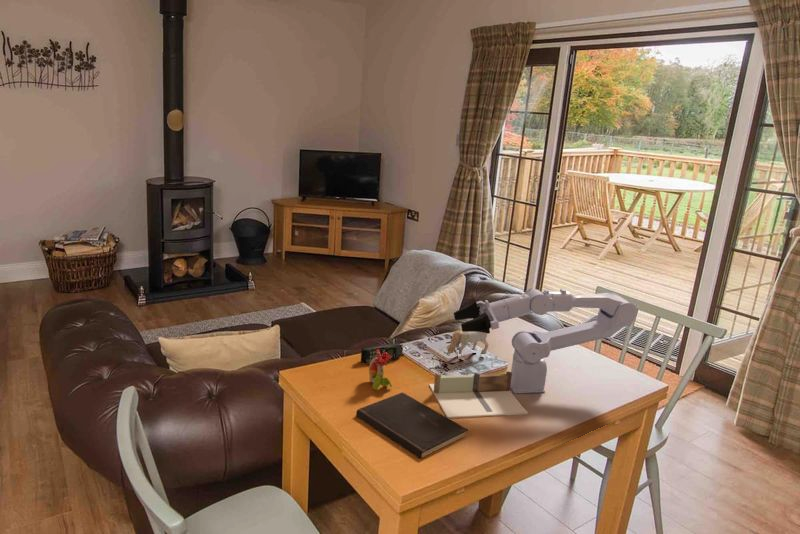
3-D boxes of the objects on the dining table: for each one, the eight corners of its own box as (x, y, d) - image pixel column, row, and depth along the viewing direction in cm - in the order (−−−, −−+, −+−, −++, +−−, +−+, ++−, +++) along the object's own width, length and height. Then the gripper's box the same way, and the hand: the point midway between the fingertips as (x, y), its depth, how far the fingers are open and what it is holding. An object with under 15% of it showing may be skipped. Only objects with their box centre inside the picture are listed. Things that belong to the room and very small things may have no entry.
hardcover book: (401, 399, 157) (402, 392, 156) (467, 437, 141) (468, 429, 140) (355, 418, 146) (356, 409, 145) (420, 461, 130) (421, 452, 129)
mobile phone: (363, 350, 174) (407, 343, 180) (359, 346, 176) (403, 339, 183) (363, 365, 175) (407, 358, 182) (359, 361, 177) (402, 354, 184)
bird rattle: (362, 390, 163) (376, 392, 155) (357, 351, 164) (371, 350, 156) (381, 387, 166) (397, 388, 159) (376, 348, 167) (391, 347, 160)
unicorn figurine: (497, 351, 192) (502, 313, 188) (463, 368, 178) (467, 327, 174) (479, 344, 196) (484, 307, 193) (444, 360, 182) (448, 320, 179)
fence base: (508, 388, 166) (510, 371, 164) (510, 390, 164) (512, 374, 163) (471, 389, 163) (473, 372, 162) (473, 392, 162) (475, 375, 160)
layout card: (501, 382, 170) (501, 381, 170) (527, 414, 153) (527, 412, 153) (429, 385, 165) (429, 383, 165) (447, 418, 148) (447, 416, 148)
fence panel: (470, 388, 163) (472, 372, 162) (472, 391, 162) (474, 374, 160) (432, 390, 161) (434, 373, 159) (434, 393, 159) (436, 375, 158)
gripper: (494, 287, 166) (449, 299, 164) (512, 307, 152) (462, 320, 151) (498, 309, 168) (453, 321, 167) (515, 330, 155) (467, 343, 153)
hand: (458, 322), depth 159 cm, fingers open, 7 cm apart
